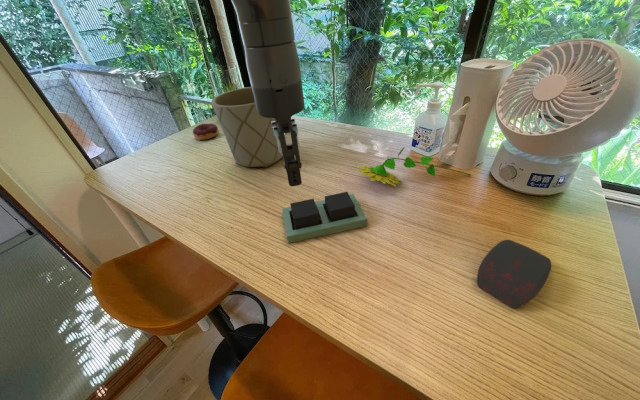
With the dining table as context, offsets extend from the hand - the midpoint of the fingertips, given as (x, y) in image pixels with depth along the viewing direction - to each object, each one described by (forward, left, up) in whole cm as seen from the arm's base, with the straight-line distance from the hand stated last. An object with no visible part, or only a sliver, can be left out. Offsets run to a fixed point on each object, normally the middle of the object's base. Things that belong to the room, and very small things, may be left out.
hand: (292, 172), depth 47 cm
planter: (+38, +8, -15) cm, 42 cm away
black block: (+1, -1, -15) cm, 15 cm away
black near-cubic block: (+1, -9, -15) cm, 17 cm away
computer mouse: (-22, -33, -15) cm, 42 cm away
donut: (+65, +29, -15) cm, 73 cm away
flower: (+11, -31, -15) cm, 36 cm away
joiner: (+1, -5, -15) cm, 16 cm away
